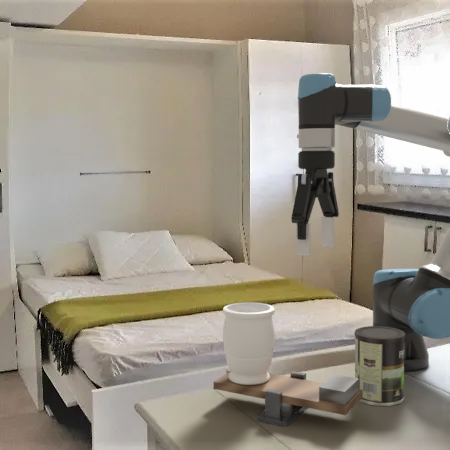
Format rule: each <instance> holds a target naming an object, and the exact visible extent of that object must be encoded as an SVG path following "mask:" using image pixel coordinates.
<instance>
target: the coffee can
mask: <svg viewBox="0 0 450 450" xmlns="http://www.w3.org/2000/svg"><path fill="white" fill-rule="evenodd" d="M354 339H355V340H354V346H355V347H354V378H358V379H359V389H361V390H363V397H362V398H361V399H360V401H359V402H360V403H362V404H365V405H370V406H377V407H391V406H396V405H400V404H401V403H403V401H405V395H404V394H405V393H404V391H405V390H404V389H405V388H404V387H405V384H404V383H405V380H404V379H405V371H404V342H405V333H404V332H403V331H402V330H399V329H396V328H392V327H384V326H373V325H369V326H363V327H358V328H356V329H355V330H354Z"/></svg>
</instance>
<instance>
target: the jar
mask: <svg viewBox="0 0 450 450" xmlns="http://www.w3.org/2000/svg"><path fill="white" fill-rule="evenodd" d="M222 311H223V312H222V313H223V314H224V315H225V318H224V320H223V328H222V329H223V330H222V341H223V342H222V343H223V350H224V352H225V359H226V363H227V366H228V368H229V370H230V371H231V372H230V371H229V372H230V374H229V376H228V377H229V380H230V381H232V382H234V383H237V384H242V385H257V384H262V383H265V382H267V381H268V380H269V379H270V375H269V373H270V372H268V370H269V369H270V366H271V365H272V359H273V357H274V356H273V355H274V353H273V352H274V349H275V343H276V342H275V340H276V330H275V323H274V318H273V315H274V314H275V311H276V307H275V306H273V305H271V304H268V303H264V302H263V303H262V302H253V301H251V302H250V301H249V302H236V303H229V304H227V305H225V306H224V307H223V309H222Z"/></svg>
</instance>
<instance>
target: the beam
mask: <svg viewBox="0 0 450 450" xmlns="http://www.w3.org/2000/svg"><path fill="white" fill-rule="evenodd" d="M230 372H231V370H230V371H229V372H227V373H226V374H224V375H222V376H220V377H219V378H217V379H215V380H214V381H213V390H218V391H223V392H228V393H232V394H238V395H242V396H247V397H253V398H258V399H263V400H265V391H266V390H268V389H269V390H275V391H280V392H282V403H287V404H292V405H297V406H301V407H306V409H307V408H308V409H312V410H316V411H317V410H318V411H321V412H327V413H331V414H337V415H341V416H346V415H348V413H350V411H351V410H352V409H353V408H354V407H355V406H356V405H357V404H358V403H359V402H360V399H361V398H362V397H363V390H361V389H359V379H358V378H355V377H351V376H344V375H339V374H333V375H332V376H331V377H329V378H328V379H327V380H326V381H324V382H320V381H315V380H309V379H306V380H305V379H299V378H293V377H291V376H287V375H280V374H276V373H270V372H268V373H269V375H270V379H269V380H268V381H267V382H265V383H262V384H257V385H242V384H237V383H234V382H232V381H230V380H229V377H228V376H229V374H230Z"/></svg>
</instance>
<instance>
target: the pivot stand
mask: <svg viewBox="0 0 450 450" xmlns="http://www.w3.org/2000/svg"><path fill="white" fill-rule="evenodd" d="M290 377H293V378H299V379H305V380H307V373H304V372H301V371H300V372H299V371H294V370H293V371H291V372H290ZM264 402H265V406H264V407H265V409H264V410H263V411H261V412H260V413H259V414H258V415H256V418H257V421H258V422H262V423H266V424H269V425H270V424H271V425H275V426H280V427H284V428H285V427H287V426H289V425H290V424H291V423H292V422H293V421H295V419H296V418H297V417H299V416H300V415H301V414H302V413H304V411H305V410H306V409H307V408H306V407H301V406H297V405H292V404H287V403H282V392H280V391H275V390H269V389H268V390H266V391H265V399H264Z"/></svg>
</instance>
